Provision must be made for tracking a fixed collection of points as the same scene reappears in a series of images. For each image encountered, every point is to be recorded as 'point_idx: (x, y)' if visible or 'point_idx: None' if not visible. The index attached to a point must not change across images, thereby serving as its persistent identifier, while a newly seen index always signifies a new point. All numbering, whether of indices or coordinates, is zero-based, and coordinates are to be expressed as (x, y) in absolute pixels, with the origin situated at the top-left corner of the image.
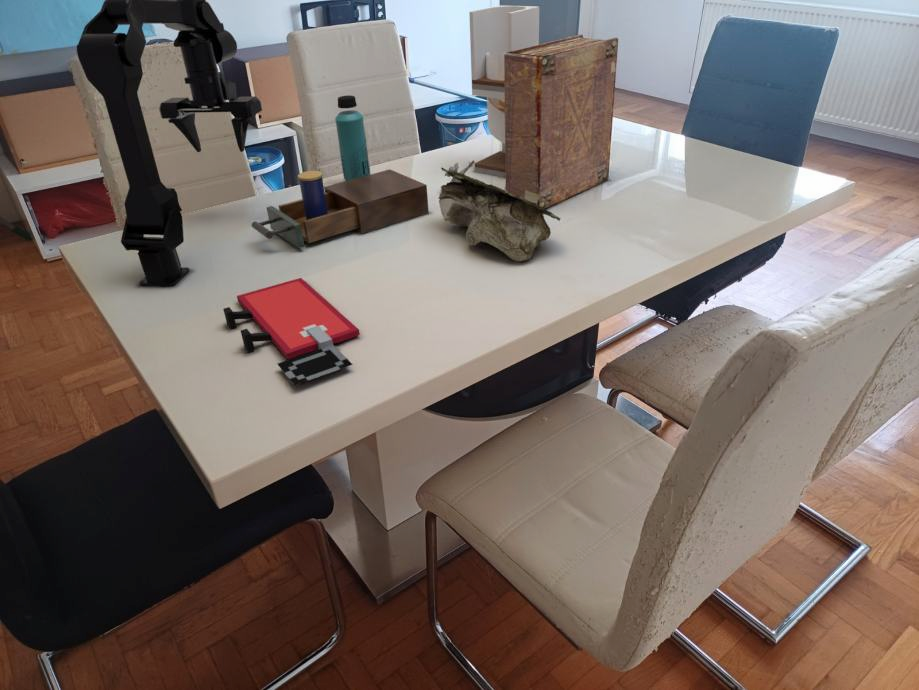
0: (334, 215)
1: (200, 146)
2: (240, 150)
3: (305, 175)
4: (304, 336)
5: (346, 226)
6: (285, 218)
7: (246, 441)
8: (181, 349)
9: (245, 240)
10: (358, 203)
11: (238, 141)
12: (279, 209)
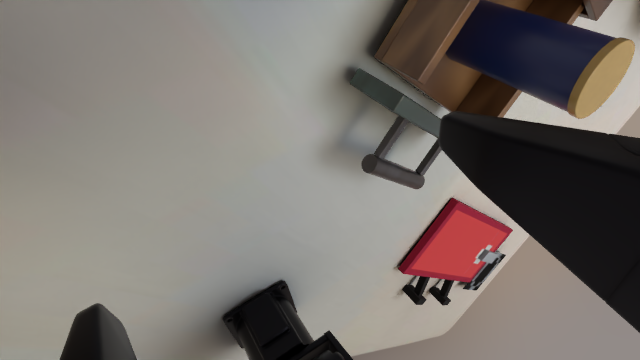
0: None
1: (106, 336)
2: (450, 153)
3: (593, 95)
4: (477, 263)
5: None
6: None
7: (453, 317)
8: (380, 327)
9: (302, 145)
10: (599, 14)
11: (514, 206)
12: (410, 77)
